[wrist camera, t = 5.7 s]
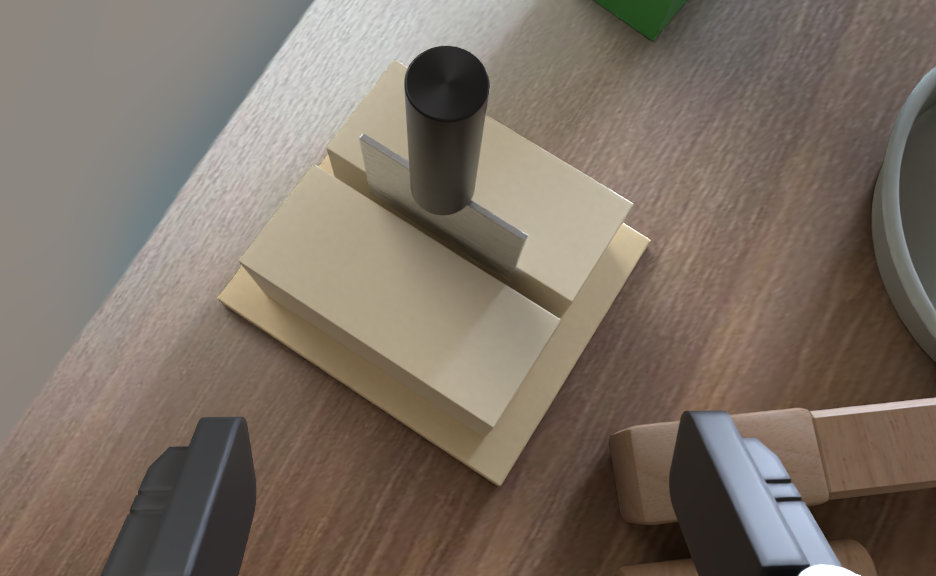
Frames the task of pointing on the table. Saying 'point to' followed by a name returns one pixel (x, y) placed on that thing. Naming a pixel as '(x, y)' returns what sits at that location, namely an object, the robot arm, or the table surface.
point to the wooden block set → (790, 464)
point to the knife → (444, 159)
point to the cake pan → (910, 215)
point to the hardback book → (644, 13)
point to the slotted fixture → (440, 286)
